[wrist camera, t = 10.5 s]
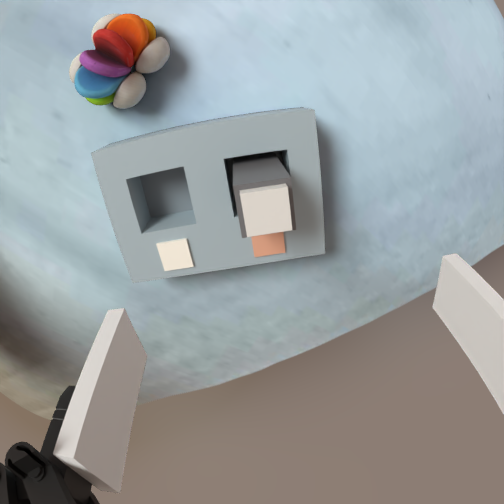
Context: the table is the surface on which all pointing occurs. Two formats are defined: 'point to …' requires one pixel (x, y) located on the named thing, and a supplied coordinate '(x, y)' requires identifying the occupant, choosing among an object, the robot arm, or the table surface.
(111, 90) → the rainbow petal fan toy
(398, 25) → the table surface
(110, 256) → the table surface
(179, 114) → the table surface
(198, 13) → the table surface
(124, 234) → the socket box
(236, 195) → the plug
